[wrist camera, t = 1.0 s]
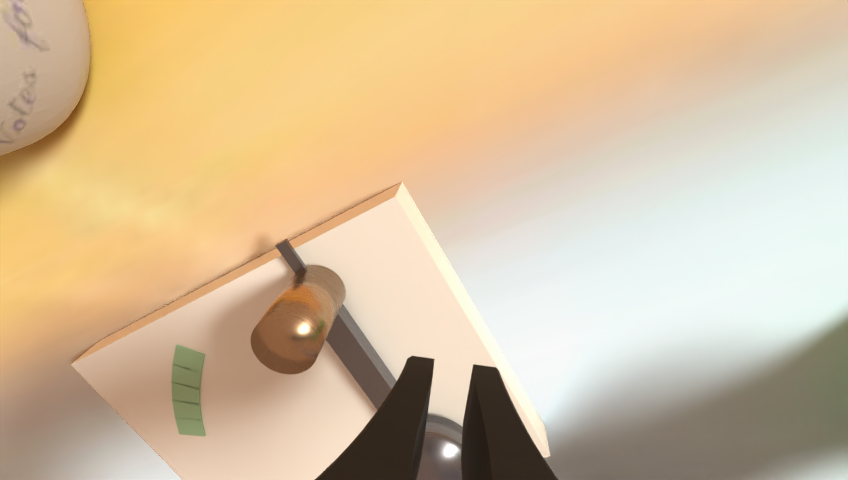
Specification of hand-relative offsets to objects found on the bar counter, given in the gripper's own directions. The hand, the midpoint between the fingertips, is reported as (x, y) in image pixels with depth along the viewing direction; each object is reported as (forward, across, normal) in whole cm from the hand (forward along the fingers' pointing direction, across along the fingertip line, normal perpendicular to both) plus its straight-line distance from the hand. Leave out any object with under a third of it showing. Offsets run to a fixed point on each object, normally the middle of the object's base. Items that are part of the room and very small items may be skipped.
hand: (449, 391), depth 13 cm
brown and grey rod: (+7, +3, +6) cm, 10 cm away
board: (+9, +6, +9) cm, 14 cm away
